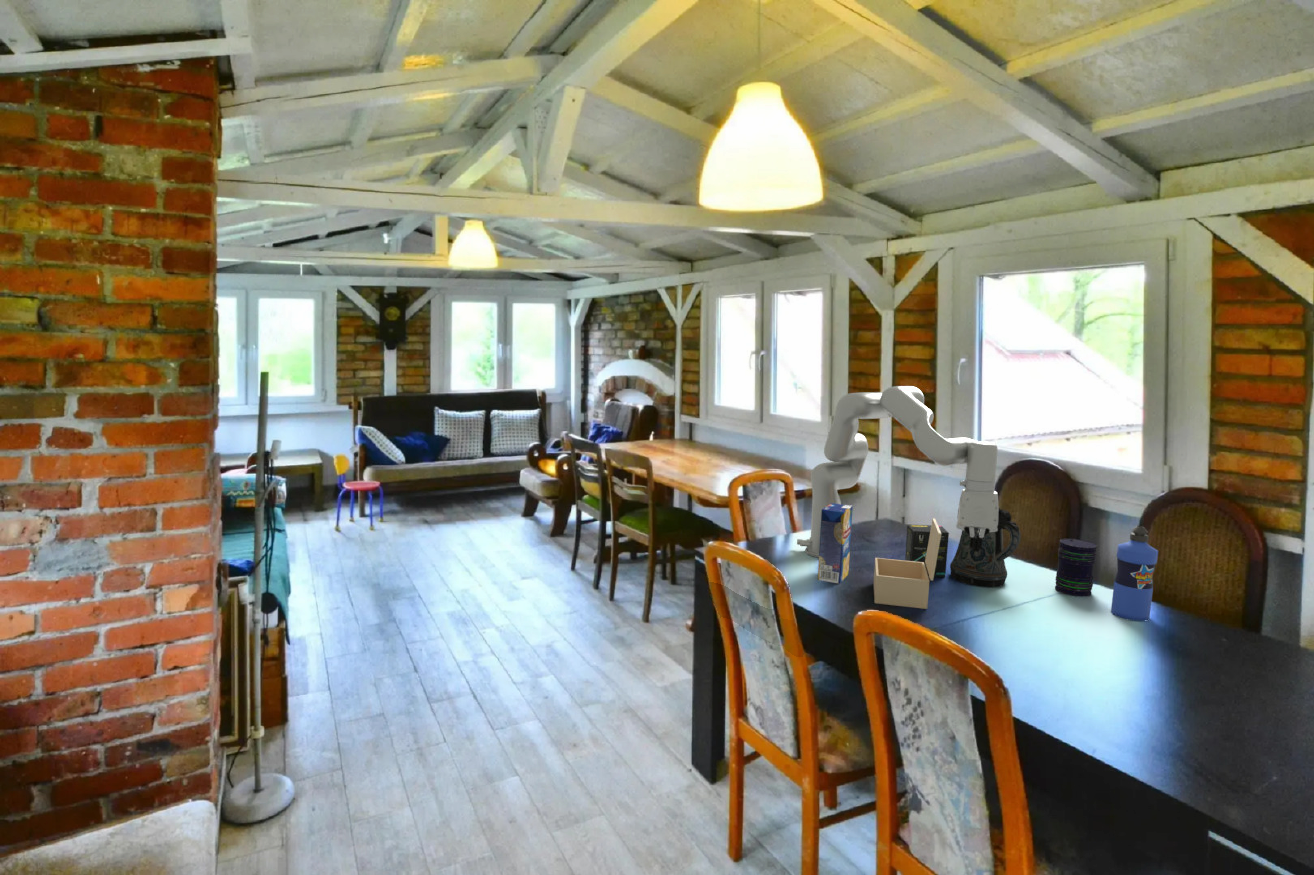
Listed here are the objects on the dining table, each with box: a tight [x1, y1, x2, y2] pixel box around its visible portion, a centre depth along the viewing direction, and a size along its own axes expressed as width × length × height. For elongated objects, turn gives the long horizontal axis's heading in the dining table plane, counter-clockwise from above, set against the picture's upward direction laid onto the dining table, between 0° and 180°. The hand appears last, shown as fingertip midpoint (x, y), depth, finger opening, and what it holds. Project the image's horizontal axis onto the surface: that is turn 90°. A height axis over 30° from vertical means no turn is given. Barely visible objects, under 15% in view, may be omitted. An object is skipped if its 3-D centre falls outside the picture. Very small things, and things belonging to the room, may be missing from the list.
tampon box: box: [904, 524, 950, 578], centre depth 239 cm, size 11×9×15 cm
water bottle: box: [1110, 525, 1159, 622], centre depth 205 cm, size 9×9×25 cm
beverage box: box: [817, 503, 854, 584], centre depth 231 cm, size 7×11×22 cm, turn 153°
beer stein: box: [949, 506, 1022, 588], centre depth 232 cm, size 16×19×25 cm
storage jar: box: [1054, 538, 1098, 598], centre depth 224 cm, size 10×10×15 cm
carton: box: [873, 557, 930, 610], centre depth 217 cm, size 14×18×8 cm
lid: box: [925, 518, 941, 581], centre depth 213 cm, size 13×18×1 cm
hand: (974, 550), depth 210 cm, fingers closed
